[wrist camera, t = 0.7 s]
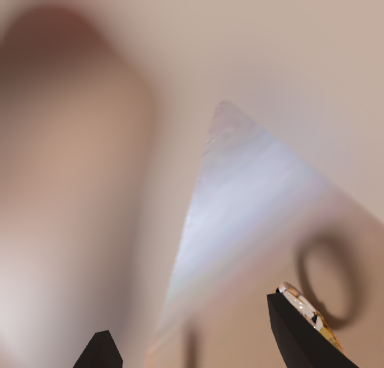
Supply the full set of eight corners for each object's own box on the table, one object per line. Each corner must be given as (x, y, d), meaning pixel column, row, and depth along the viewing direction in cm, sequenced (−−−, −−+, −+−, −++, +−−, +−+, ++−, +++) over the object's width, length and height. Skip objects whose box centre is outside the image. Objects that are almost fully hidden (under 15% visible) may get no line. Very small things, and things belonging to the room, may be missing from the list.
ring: (362, 346, 21) (353, 367, 15) (331, 364, 22) (312, 391, 16) (305, 275, 26) (282, 271, 20) (282, 292, 26) (252, 293, 20)
